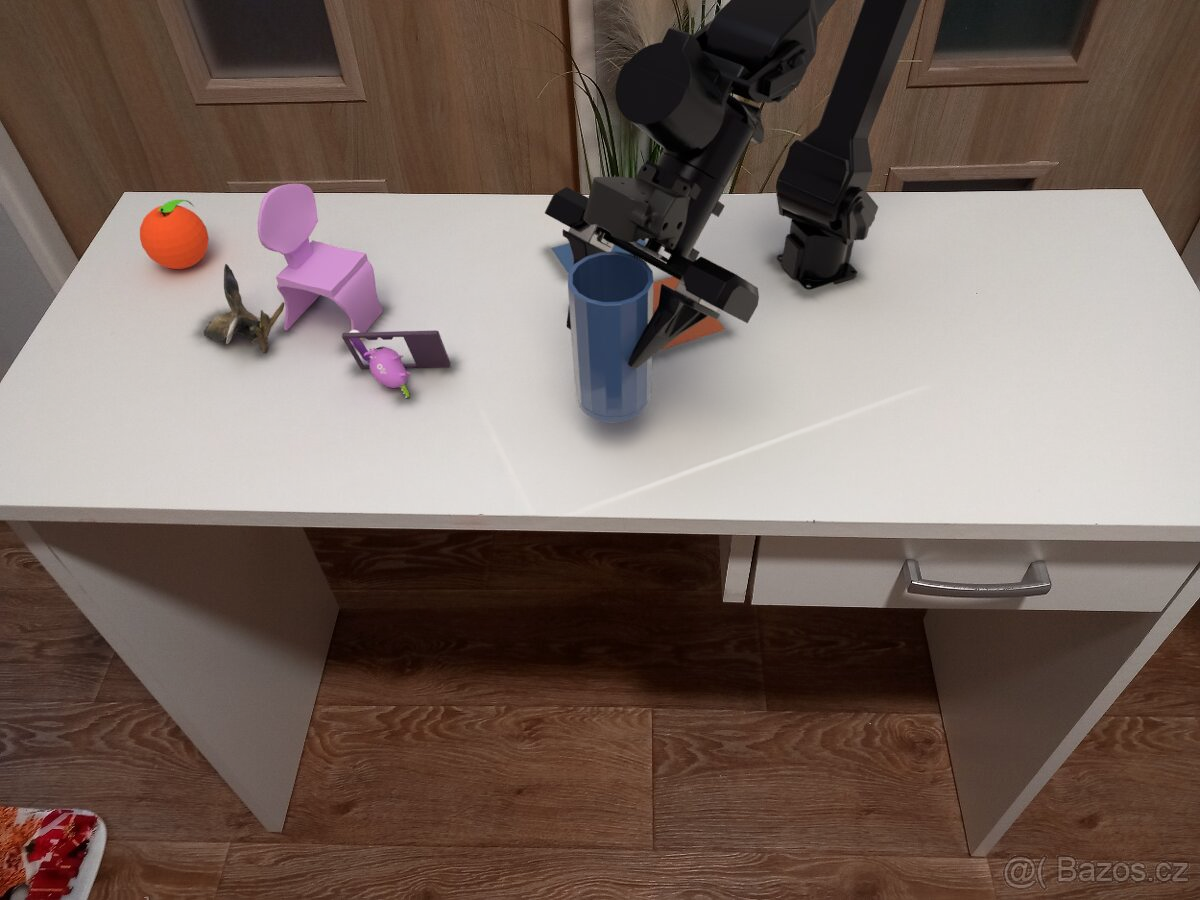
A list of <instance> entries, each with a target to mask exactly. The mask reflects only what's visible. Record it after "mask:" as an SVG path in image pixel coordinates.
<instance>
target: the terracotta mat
mask: <svg viewBox="0 0 1200 900" xmlns="http://www.w3.org/2000/svg"><path fill="white" fill-rule="evenodd" d="M679 281H680V280H679V279H677V278H675V277H673V276H669V277H667V278H663V279H660V280H657V281H656V280H655V281H654V282H653V308H654V307H658V305H659V298H660V290H661V285H662V284H664V285H666V286H668V287H670V288H672V289H674V290H675V289H676V287H677V285H678V283H679ZM725 330H726V328H725V327H724V325H722V323H721V322H720V321H719V319H717V320H716V319H714V318H712V317H710V316H709V317H707V318H705V319H703V320H702V321H700V322H699V323H697V324H696V325H694V326H692V327H691V328H689V329H688V330H686V331H685V332H683V333H682V334H680V335H679V336H677V337H676V338H675V339H673V340H672V341H671V342H670V343H668V344H667V345H666V346H664V347H663V348H662V349H661V350H660V351H662V350H665V349H669V348H672V347H675V346H678V345H681V344H684V343H687V342H690V341H694V340H696V339H700V338H702V337H706V336H709V335H712V334H715V333H716V334H717V333H718V332H722V331H725Z"/></svg>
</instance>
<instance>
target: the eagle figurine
mask: <svg viewBox="0 0 1200 900" xmlns="http://www.w3.org/2000/svg"><path fill="white" fill-rule="evenodd" d="M223 292H224V297H225V300H226V302H227V304H228V306H229V308H230V311H229V312H225V313H219V314H218V315H216V316H215V317H214V318H212V320H211V321H210V320H209V322H208V325H207V326H205V328H204V330H203V336H204V337H209V338H211V339H212V340H214V341H215V342H223V341H226V342H225V344H226V345H228V344H230V342H231V341H232V339H233V336H234V334H240V335H243V337H245V338H248V339H250V340H252V342H251V343H252V344H253V345H256V344H257V343H258V342H259V347H260V348H261V349H262V352H263V353H264V354H266V353H267V344H268V340H269V335H270V333H271V329H272V327H273V325H274V324H275V323H276V322H277V320H278V318H279V317H280V316H281V314H282V313H283V312H284V309H285V306H286V305H285V301H284V302H283V301H282V302H281V303H280V305H279V306H278V307H277V309H276V310H275V311H274V313H273V314H272V316H271V317H270V315H268V314H267V312H264V310H263V309H260V315H259V316H260V317H258V316H256V315H254V314H253V313H252V312H250V311H249V310H247V308H246V307H245V306H244V303H243V300H242V296H241V293H240V286H239V283H238V281H237V279H236V277H235V274H234V272H233V270H232V269H231V268H230V265H228V264H227V263H224V268H223ZM225 339H226V340H225Z"/></svg>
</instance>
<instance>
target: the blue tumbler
mask: <svg viewBox="0 0 1200 900" xmlns="http://www.w3.org/2000/svg"><path fill="white" fill-rule="evenodd" d="M567 273H568V272H567ZM653 282H655V280H654V272H653V270H652V269H651V267H650V266H649V264H648V263H647V262H645V261H644V260H642V259H640V258H638V257H636V256H634V255H631V254H627V253H622V252H600V253H596V254H593V255H590V256H586V257H585V258H583V259H582V260H580V261H578V262H577V263H575V264H574V266H573V267H572V269H571V270H570V272H569V273H568V274H567V293H568V309H569V308H570V322H571V329H570V333H571V336H570V337H571V347H572V348H571V349H572V362H573V374H574V375H573V376H574V377H573V378H574V388H575V390H574V391H575V398H576V402H577V405H578V407H579V409H580V410H581V411H582V412H583V413H584V414H585V415H586V416H588V417H590V418H591V419H593V420H596V421H599V422H603V423H611V424H612V423H624V422H627V421H631V420H633V419H635V418H636V417H639V416H640V415H642V413H644V412H645V410H646V409H648V406H649V405H650V403H651V399H652V392H653V391H652V387H653V385H652V384H653V383H652V382H653V356H652V357H651V358H649V359H648V360H647V361H646V362H644V363H643V364H642V365H641V366H639V367H638V368H636V369H635V368H632V367H630V366H628V362H629V360H630V357H631V355H632V352H633V350H634V348H635V346H636V344H637V343H638V341H639V339H640V337H641V335H642V334H643V332H644V330H645V328H646V327H647V325H648V323H649V321H650V320H651V318H652V316H653Z"/></svg>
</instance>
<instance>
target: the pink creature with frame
mask: <svg viewBox="0 0 1200 900" xmlns="http://www.w3.org/2000/svg"><path fill="white" fill-rule="evenodd" d="M341 338H342V340H343V342H344V343H345V345H346V347H347V349H348V350H349V352H350V353H351V355H352V357H353V359H354V360H355V362H356V364H357V366H358V367H359V369H361V370H370V373H371V375H372V377H374V379H375V380H376V381H377V382H378V383H379V384H381V385H383V386H384V387H387V388H391V389H393V388H394V389H395V388H396V389H397V388H400V389H401V390H400V391H403V393H402V395H404V398H406V399H407V398H411V397H410V392H409V390H408V387H407V386H406V383H407V382H408V376H409V375H411V372H410V371H408V370H407V369H428V368H429V369H431V368H435V369H436V368H450V367H451V361H450V358H449V355H448V353H447V349H446V348H445V344H444V342H443V338H442V336H441V334H440V332H439V330H401V331H400V330H398V331H366V332H359V331H358V330H351V329H350V330H349V332H343V333H342V335H341ZM379 338H380V339H382V340H384V341H388V340H389V341H391V340H393V339H394V338H403V339H404V342H405V344H406V346H407V348H408V351H409V353H410V355H411V357H412V359H413V361H414V363H403V362H402V360H401V359H402V358H403V357H404V355H402V354H399V353H398V352H397V351H396V350H395V349H393V348H391V347H387V346H379V347H376V348H375V347H373V348H369V349H367V347H366V345H365V344H364V342H363V340H364V339H365V340H368V341H378V339H379ZM350 340H351V341H352V342H353V344H354V346H352V344H351V342H350ZM357 352H358V353H357ZM359 355H360V356H361V358H360V356H359ZM361 359H363V360H364V361H365V362H367V363H369V364H364V363H363V361H362V360H361Z"/></svg>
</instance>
